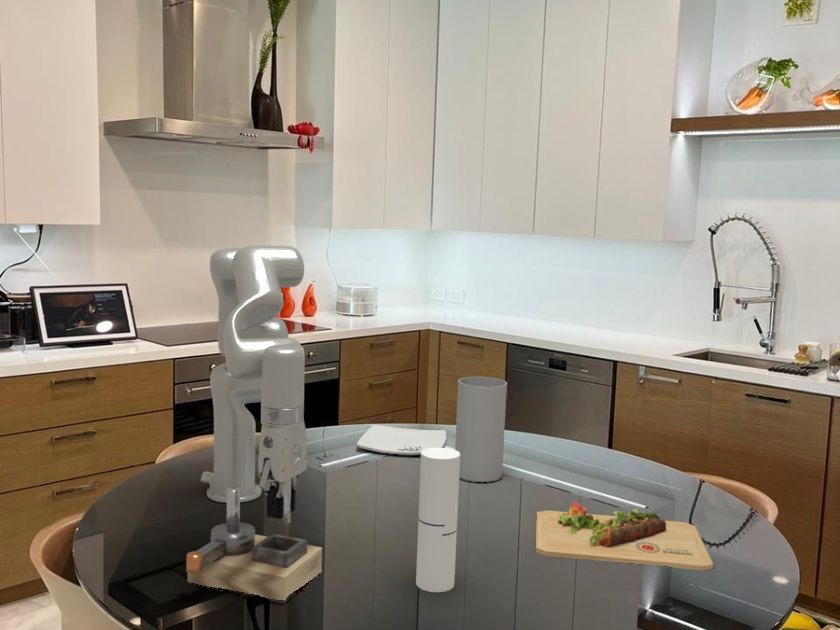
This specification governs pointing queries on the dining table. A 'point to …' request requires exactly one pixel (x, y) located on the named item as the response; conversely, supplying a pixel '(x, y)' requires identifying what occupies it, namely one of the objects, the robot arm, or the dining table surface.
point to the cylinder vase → (480, 428)
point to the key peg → (287, 504)
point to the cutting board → (620, 538)
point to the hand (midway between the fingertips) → (280, 512)
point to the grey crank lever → (224, 537)
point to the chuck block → (264, 568)
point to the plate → (400, 440)
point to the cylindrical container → (437, 519)
